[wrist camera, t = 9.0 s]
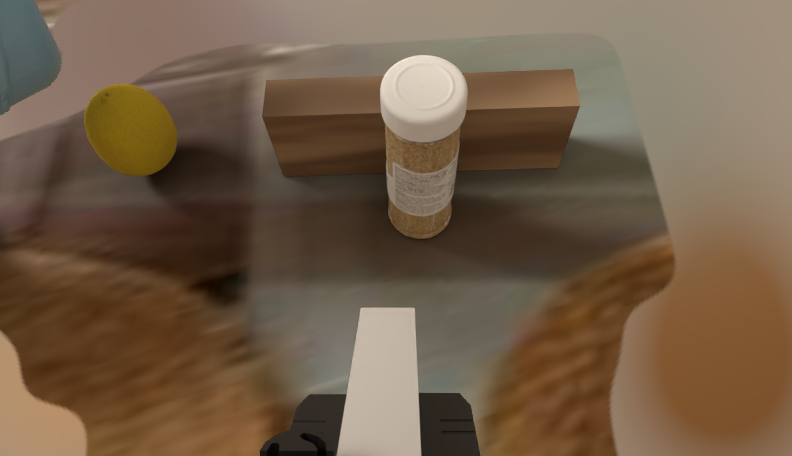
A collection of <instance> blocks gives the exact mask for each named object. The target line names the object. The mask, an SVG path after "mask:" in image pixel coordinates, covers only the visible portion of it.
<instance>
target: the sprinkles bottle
mask: <svg viewBox="0 0 792 456" xmlns="http://www.w3.org/2000/svg"><path fill="white" fill-rule="evenodd" d="M467 95H468V89H467V83H466V80H465V78H464V76H463V74H462V73H461V71H460V70H459V69H458V68H457V67H456V66H454V65H453V64H452V63H450V62H448V61H447V60H444V59H442V58H439V57H435V56H427V55H419V56H413V57H409V58H406V59H403V60H401V61H399V62H398V63H396V64H395V65H393V66H392V67H391V68H390V69H389V70H388V71H387V73H386V74H385V76H384V77H383V79H382V82H381V87H380V104H381V114H382V117H383V120H384V123H385V132H386V134H385V136H386V156H387V161H386V175H387V190H388V194H389V205H388V215H389V218H390V221H391V223H392V224H393V225H394V227H395V228H396V229H397V230H398V231H399V232H401V233H402V234H403V235H405V236H408V237H412V238H417V239H424V238H430V237H433V236H435V235H437V234H438V233H440V232H441V231H443V229H444V228H445V227H446V226H447V225H448V223H449V220H450V218H451V213H452V206H451V198H452V196H453V192H454V185H455V177H456V169H457V160H458V153H459V137H460V126H461V123H462V122H463V120H464V117H465V114H466V106H467Z"/></svg>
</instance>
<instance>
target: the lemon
mask: <svg viewBox="0 0 792 456" xmlns="http://www.w3.org/2000/svg"><path fill="white" fill-rule="evenodd" d="M84 124H85V129H86V134H87V137H88V139H89V141H90V143H91V145H92V147H93V148H94V150H95V152H96V153H97V155H98V156H99V157H100V158H101V159H102V160H103V161H104V162H105V163H107V164H108V165H109V166H110V167H112V168H113V169H115V170H117V171H119V172H121V173H124V174H127V175H133V176H145V175H150V174H153V173H155V172H157V171H159V170H161V169H162V168H164V167H165V166H166V165H167V164H168V163H169V162H170V160H171V159H172V157H173V155H174V153H175V151H176V146H177V133H176V127H175V124H174V122H173V120H172V118H171V116H170V114H169V112H168V110H167V109H166V108H165V107H164V105H163V104H162V103H161V102H160V101H159V100H158V99H157V98H156V97H155V96H154V95H152V94H151V93H150V92H148V91H146V90H144V89H142V88H140V87H138V86H134V85H130V84H116V85H111V86H108V87H106V88H104V89H102V90H100V91H99V92H97V94H95V95H94V96H93V97H92V99H91V100H90V101H89V103H88V105H87V107H86V110H85V116H84Z"/></svg>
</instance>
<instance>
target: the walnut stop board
mask: <svg viewBox="0 0 792 456" xmlns="http://www.w3.org/2000/svg"><path fill="white" fill-rule="evenodd" d="M462 74H463V76H464V78H465V80H466V83H467V89H468V95H467V106H466V114H465V117H464V120H463V122H462V123H461V126H460V137H459V153H458V160H457V169H456V171H471V170H502V169H533V168H558V167H559V164H560V161H561V158H562V155H563V153H564V150H565V147H566V144H567V141H568V138H569V136H570V133H571V130H572V127H573V124H574V121H575V119H576V116H577V113H578V110H579V107H580V103H579V98H578V93H577V88H576V83H575V77H574V72H573V69H565V70H537V71H509V72H482V73H462ZM383 77H384V76H372V77H344V78H317V79H289V80H266V88H265V97H264V106H263V115H262V117H263V120H264V123H265V126H266V128H267V131H268V134H269V136H270V139H271V142H272V145H273V147H274V150H275V153H276V156H277V158H278V161H279V164H280V166H281V169H282V172H283V175H284V176H314V175H346V174H377V173H386V161H387V156H386V136H385V134H386V132H385V123H384V120H383V117H382V114H381V104H380V87H381V82H382V79H383Z"/></svg>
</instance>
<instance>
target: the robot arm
mask: <svg viewBox="0 0 792 456" xmlns="http://www.w3.org/2000/svg"><path fill="white" fill-rule="evenodd" d="M61 64H62V58H61V53H60V50H59V48H58V46H57V44H56V42H55V40H54V38H53V36H52V34H51V32H50V30H49V28H48V26H47V24H46V22H45V20H44V18H43V16H42V14H41V12H40V10H39V8H38V6H37V4H36V2H35V0H0V115H2V114H4V113H5V112H8V111H9V109H10V107H11V106H12V105H14V104H16V103H18V102H20V101H22V100H24V99H26V98H28V97H29V96H31V95H33V94H35V93H36V92H39V91H41V90H43V89H45V88H47V87H48V86H50V85H51V83H52V82H54V80H55V79H56V78H57V76H58V74H59V72H60V70H61ZM260 456H480V452H479V447H478V441H477V436H476V431H475V426H474V422H473V415H472V410H471V405H470V404H469V403H468V402H467V401H466V400H465V399H464V398H463V396H462V395H461V394H460V393H418V372H417V350H416V327H415V308H361V311H360V317H359V323H358V329H357V335H356V341H355V347H354V353H353V359H352V365H351V371H350V378H349V384H348V390H347V394H310V395H309V396H308V397H307V398H305V399H304V400H303V401H302V402H301V403H300V404H299V405H298V406H297V409H296V412H295V416H294V419H293V423H292V426H291V429H290V430H289V431H286V432H283V433H280V434H277V435H275V436H274V437H272V438H271V439H269V440H268V441H266V442H265V444H264V445H263V447H262V448H261V450H260Z"/></svg>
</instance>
